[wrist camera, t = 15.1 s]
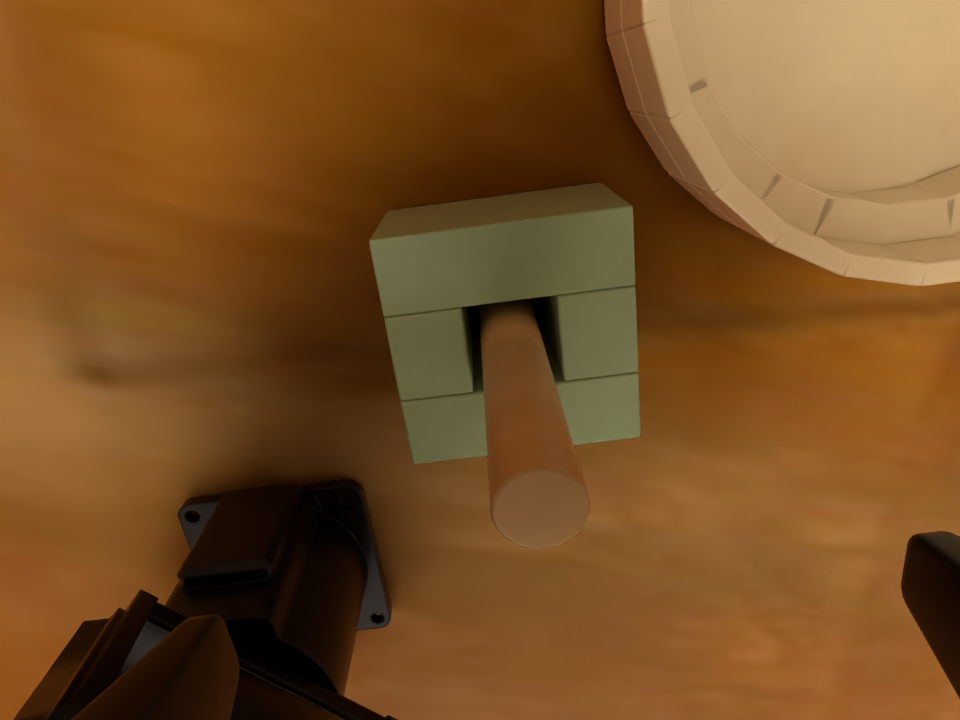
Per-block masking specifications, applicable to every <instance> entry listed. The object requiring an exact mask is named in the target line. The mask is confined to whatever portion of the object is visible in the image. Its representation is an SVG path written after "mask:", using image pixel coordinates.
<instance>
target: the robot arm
mask: <svg viewBox="0 0 960 720" xmlns="http://www.w3.org/2000/svg"><path fill="white" fill-rule="evenodd" d="M344 492H351V493H352V494H353V495H354V497H346V496H344V494H343V493H344ZM190 510H191V511H196V512H197V513H198V514H199V515H200V516H198V515H194V514H192V513H191V511H190ZM178 517H179V520H180V523H181V526H182V528H183V531H184V534H185V536H186V539H187V542H188V544H189V547H190V550H191V551H190V553H189V554H188V556H187V558H186V559H185V561H184V563H183V564H182V566H181V568H180V569H179V571H178V574H177V576H178V579H179V582H178V584H177V585H176V587H175V589H174V591H173V592H172V594H171V596H170V597H169V599H168V601H167V603H166V604H165V606H164V605H162V604H160V603H158V602H157V600H158V598H157V597H155V596H153V595H151V594H149V593H147V592H145V591H143V590H141V589H140V591H139V592H138V593H137V595H136V596H135V597H134V599H133V600H132V602H131V603H130V604H129V606H128V607H127V608H126V610H123V609H121V608H118V609H117V611H116V612H115V613H114V615H112V616H111V617H110V618H109V619H100V620H91V621H84V622H83V623H82V625H81V626H80V627H79V629H78V630H77V632H76V633H75V634H74V636H73V637H72V639H71V640H70V641H69V643H68V644H67V646H66V647H65V648H64V650H63V651H62V653H61V654H60V655H59V657H58V658H57V660H56V661H55V663H54V664H53V665H52V667H51V668H50V670H49V671H48V672H47V674H46V675H45V676H44V678H43V679H42V681H41V682H40V683H39V685H38V686H37V688H36V689H35V690H34V692H33V693H32V694H31V696H30V697H29V699H28V700H27V701H26V703H25V704H24V706H23V707H22V708H21V710H20V711H19V712H18V714H17V715H16V717H15V718H14V719H13V720H398V719H396V718H394V717H392V716H390V715H388V716H387V717H383V716H382V715H380V714H378V713H376V712H374V711H372V710H370V709H368V708H366V707H364V706H362V705H360V704H358V703H356V702H354V701H352V700H350V699H348V698H346V697H344V692H345V687H346V682H347V677H348V672H349V667H350V662H351V657H352V652H353V647H354V642H355V637H356V632H357V631H358V630H367V629H375V628H382V627H385V626H386V625H388V624H389V622H390V620H391V613H392V608H391V604H390V600H389V596H388V591H387V587H386V583H385V579H384V575H383V570H382V566H381V562H380V558H379V553H378V549H377V545H376V541H375V536H374V532H373V528H372V524H371V519H370V515H369V511H368V507H367V502H366V498H365V494H364V490H363V488H362V486H361V485H360V484H359V483H358V482H357V481H354V480H347V479H346V480H338V481H330V482H321V483H313V484H305V485H297V484H294V483H292V484H284V485H276V486H267V487H259V488H251V489H243V490H234V491H228V492H226V493H225V494H222V495H213V496H205V497H197V498H191V499H188V500H187V501H185V502H184V504H183V505H182V507H181V508H180V510H179V512H178ZM901 589H902V594H903V598H904V600H905V603H906V605H907V607H908V608H909V610H910V612H911V614H912V615H913V617H914V619H915V621H916V623H917V624H918V626H919V628H920V630H921V631H922V633H923V635H924V637H925V638H926V640H927V642H928V644H929V645H930V647H931V649H932V651H933V653H934V654H935V656H936V658H937V660H938V661H939V663H940V665H941V667H942V668H943V670H944V672H945V674H946V675H947V677H948V679H949V681H950V682H951V684H952V686H953V688H954V690H955V691H956V693H957V695H958V697H959V698H960V537H959V536H957V535H955V534H952V533H950V532H946V531H938V532H929V533H920V534H916V535H913V536H912V537H911V538H910V539H909V541H908V544H907V550H906V556H905V562H904V568H903V575H902V581H901ZM374 613H380V614H382V615H376V614H374Z"/></svg>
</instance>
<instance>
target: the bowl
mask: <svg viewBox="0 0 960 720" xmlns="http://www.w3.org/2000/svg"><path fill="white" fill-rule="evenodd" d="M604 5H605V26H606V35H607V42H608V45H609V49H610V52H611V55H612V59H613V62H614V65H615V69H616V72H617V75H618V79H619V82H620V85H621V89H622V92H623V95H624V99H625V102H626V106H627V109H628V111H631V112H630V114H631V117H632V118H633V120H634V121H635V123H636V125H637V126H638V128H639V129H640V131H641V133H642V134H643V136H644V137H645V139H646V141H647V142H648V144H649V145H650V147H651V148H652V150H653V152H654V153H655V155H656V156H657V158H658V160H659V161H660V163H661V164H662V166H663V168H664V169H665V170H666V171H668V174H669V175H670V176H671V177H672V178H673V179H675V180H676V181H677V182H678V183H679V184H680V185H681V186H682V187H684V188H685V189H686V190H687V191H688V192H689V193H690V194H692V195H693V196H694V197H695V198H696V199H697V200H698V201H700V202H701V203H702V204H703V205H704V206H705V207H706V208H708V209H709V210H710V211H711V212H712V213H713V214H715V215H717V216H718V217H720V218H721V219H723V220H725V221H727V222H729V223H731V224H733V225H735V226H737V227H739V228H740V229H742V230H744V231H746V232H748V233H750V234H752V235H754V236H755V237H757V238H759V239H761V240H763V241H765V242H767V243H769V244H771V245H773V246H775V247H777V248H779V249H781V250H783V251H786V252H788V253H790V254H792V255H795V256H797V257H799V258H801V259H804V260H806V261H808V262H810V263H813V264H815V265H817V266H819V267H822V268H824V269H826V270H828V271H831V272H833V273H835V274H837V275H842V276H844V277H851V278H859V279H866V280H874V281H881V282H889V283H897V284H904V285H912V286H919V285H920V286H926V285H934V284H942V283H950V282H958V281H960V0H604Z"/></svg>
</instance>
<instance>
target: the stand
mask: <svg viewBox="0 0 960 720" xmlns="http://www.w3.org/2000/svg"><path fill="white" fill-rule="evenodd" d="M369 246H370V251H371V256H372V261H373V267H374V272H375V277H376V282H377V287H378V292H379V297H380V302H381V307H382V312H383V316H384V317H385V319H384V322H385V327H386V332H387V337H388V342H389V347H390V352H391V357H392V362H393V367H394V372H395V378H396V383H397V388H398V393H399V398H400V399H401V408H402V413H403V418H404V423H405V428H406V433H407V438H408V443H409V448H410V453H411V458H412V462H413V463H414V464H421V463H429V462H437V461H446V460H454V459H462V458H470V457H479V456H487V440H486V423H485V405H484V388H483V370H482V353H481V339H477V340H472V332H471V325H470V317H469V310H468V306H476V305H483V304H491V303H499V302H507V301H515V300H522V299H530V298H538V297H544V304H545V315H546V326H547V330H548V331H540V334H541V337H542V340H543V344H544V347H545V350H546V354H547V357H548V360H549V364H550V367H551V371H552V374H553V377H554V381H555V384H556V387H557V391H558V394H559V397H560V401H561V404H562V407H563V411H564V414H565V418H566V421H567V424H568V428H569V431H570V434H571V438H572V441H573V444H574V445H578V444H586V443H595V442H603V441H611V440H619V439H628V438H636V437H640V434H641V430H640V402H639V374H638V373H637V371H638V341H637V313H636V288H635V286H634V285H635V283H636V281H635V252H634V224H633V207H632V205H630V204H629V203H628V202H626V201H625V200H624V199H622V198H621V197H620V196H618V195H617V194H615V193H614V192H613V191H611V190H610V189H609V188H607V187H606V186H605V185H603V184H602V183H592V184H584V185H577V186H569V187H562V188H554V189H547V190H539V191H532V192H524V193H517V194H509V195H502V196H494V197H487V198H479V199H472V200H464V201H457V202H449V203H442V204H434V205H427V206H419V207H412V208H404V209H397V210H389V211H387V212H386V214H385V216H384V217H383V219H382V220H381V222H380V224H379V225H378V227H377V229H376V230H375V232H374V233H373V235H372V237H371V238H370V240H369Z"/></svg>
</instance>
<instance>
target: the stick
mask: <svg viewBox="0 0 960 720" xmlns="http://www.w3.org/2000/svg"><path fill="white" fill-rule="evenodd" d="M479 318H480V335H481V353H482V370H483V388H484V405H485V423H486V440H487V458H488V475H489V492H490V510H491V517H492V520H493V523H494V525H495V526H496V528H497V529H498V531H499V532H500V533H501V534H502V535H503V536H504V537H505V538H506V539H508V540H509V541H510V542H512V543H514V544H516V545H519V546H522V547H525V548H531V549H545V548H551V547H555V546H558V545H560V544H563V543H565V542H566V541H568V540H570V539H571V538H573V537H574V536H575V535H576V534H577V533H578V532H579V531H580V530H581V528H582V527H583V525H584V524H585V522H586V520H587V517H588V514H589V509H590V500H589V495H588V491H587V488H586V485H585V481H584V478H583V475H582V471H581V468H580V465H579V461H578V458H577V454H576V451H575V448H574V444H573V441H572V438H571V434H570V431H569V428H568V424H567V421H566V418H565V414H564V411H563V407H562V404H561V401H560V397H559V394H558V391H557V387H556V384H555V381H554V377H553V374H552V371H551V367H550V364H549V360H548V357H547V354H546V350H545V347H544V344H543V340H542V337H541V334H540V330H539V327H538V323H537V320H536V317H535V313H534V310H533V307H532V303H531V300H530V299H522V300H515V301H507V302H499V303H491V304H483V305H479Z"/></svg>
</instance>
